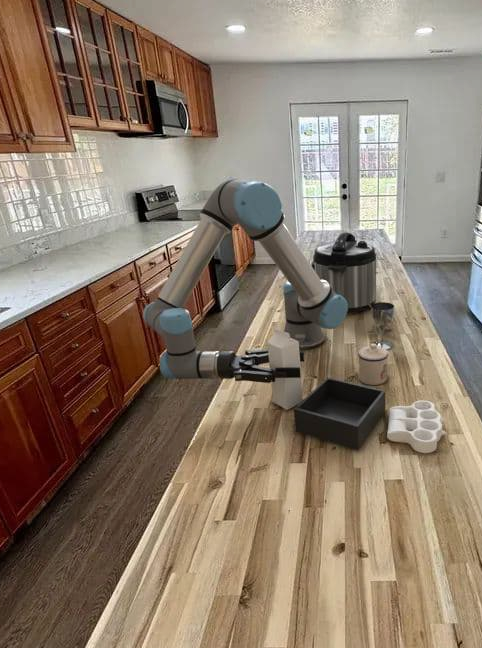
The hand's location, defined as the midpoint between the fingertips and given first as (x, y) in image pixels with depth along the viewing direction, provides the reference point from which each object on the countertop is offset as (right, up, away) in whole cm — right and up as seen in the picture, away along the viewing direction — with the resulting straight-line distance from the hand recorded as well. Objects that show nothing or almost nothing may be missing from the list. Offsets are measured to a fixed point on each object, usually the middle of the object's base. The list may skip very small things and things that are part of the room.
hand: (302, 364), depth 118 cm
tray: (+11, -15, -4) cm, 19 cm away
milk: (-4, -11, +5) cm, 13 cm away
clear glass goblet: (+26, +11, +51) cm, 58 cm away
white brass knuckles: (+30, -17, -7) cm, 35 cm away
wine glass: (+25, +5, +38) cm, 46 cm away
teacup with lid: (+21, -5, +18) cm, 28 cm away
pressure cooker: (+12, +23, +77) cm, 81 cm away
